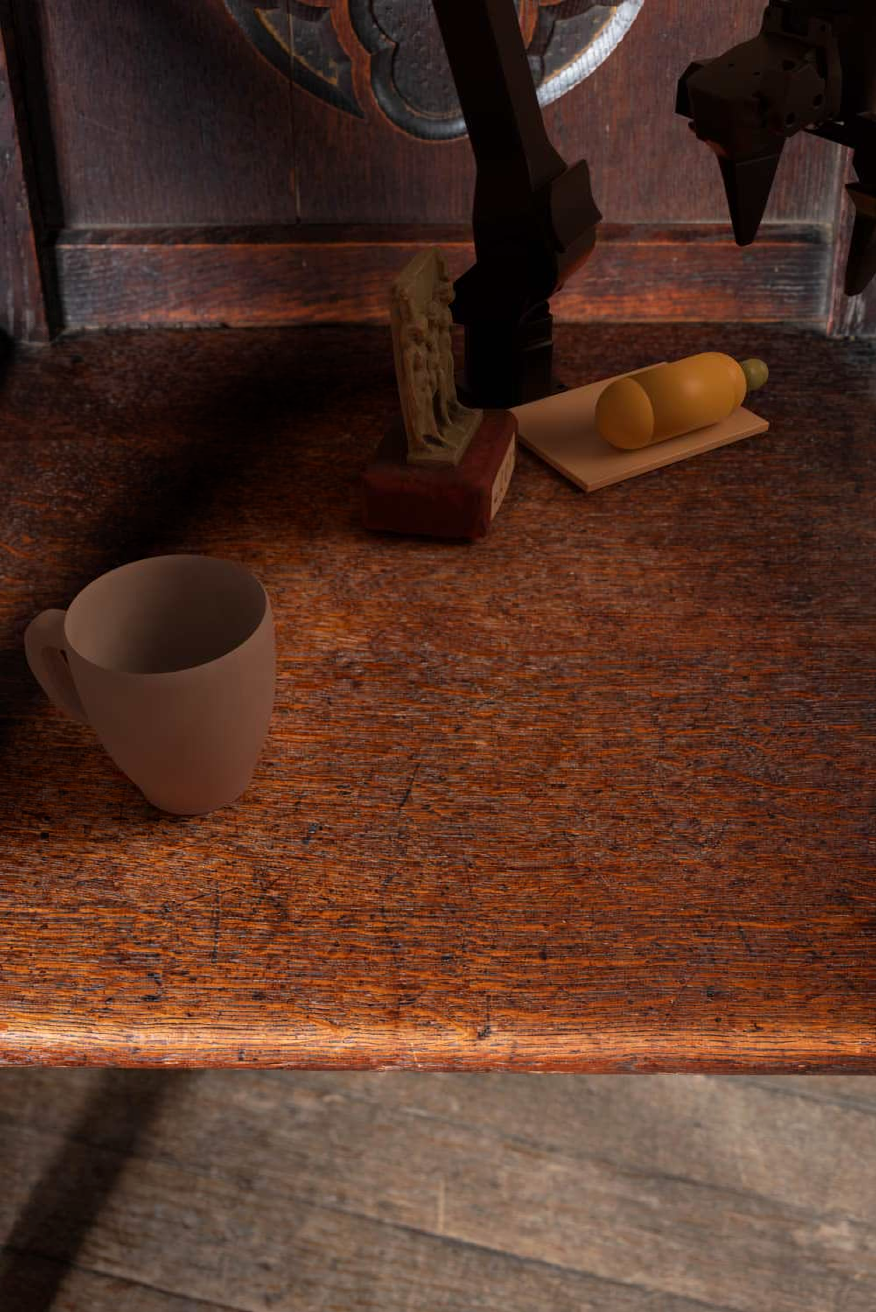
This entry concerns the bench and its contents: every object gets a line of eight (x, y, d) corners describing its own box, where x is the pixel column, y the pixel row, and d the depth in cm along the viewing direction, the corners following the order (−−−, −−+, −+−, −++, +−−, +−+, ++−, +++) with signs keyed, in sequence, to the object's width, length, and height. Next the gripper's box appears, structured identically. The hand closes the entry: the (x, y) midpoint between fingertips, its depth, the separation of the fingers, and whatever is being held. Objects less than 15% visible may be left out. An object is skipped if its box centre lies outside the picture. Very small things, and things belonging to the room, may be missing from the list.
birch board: (491, 421, 86) (491, 413, 86) (664, 368, 92) (665, 361, 91) (586, 493, 78) (587, 484, 78) (768, 430, 84) (769, 422, 84)
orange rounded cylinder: (737, 390, 88) (744, 327, 85) (784, 413, 85) (792, 348, 82) (579, 442, 83) (581, 376, 80) (622, 469, 79) (626, 401, 77)
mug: (319, 732, 61) (303, 570, 55) (242, 862, 55) (214, 695, 49) (102, 686, 64) (64, 528, 58) (5, 804, 58) (-49, 639, 52)
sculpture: (493, 551, 74) (497, 306, 64) (359, 536, 75) (344, 295, 66) (520, 467, 81) (527, 237, 72) (398, 455, 82) (390, 228, 73)
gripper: (612, -34, 69) (594, 247, 78) (866, 34, 56) (807, 359, 66) (766, -56, 73) (731, 213, 83) (1034, 2, 60) (955, 311, 70)
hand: (796, 268), depth 75 cm, fingers open, 9 cm apart
